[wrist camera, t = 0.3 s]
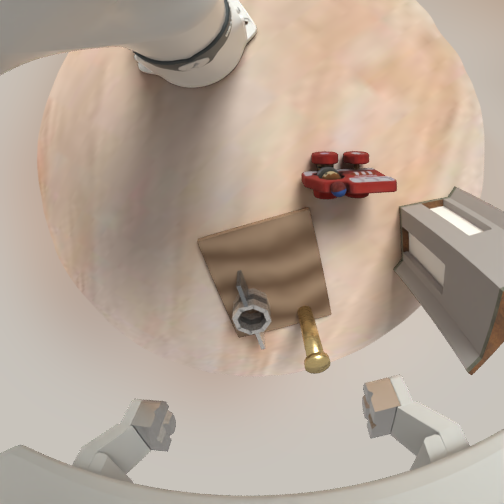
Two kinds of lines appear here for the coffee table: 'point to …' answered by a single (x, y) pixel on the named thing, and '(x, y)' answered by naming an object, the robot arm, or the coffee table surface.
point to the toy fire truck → (345, 177)
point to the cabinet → (457, 270)
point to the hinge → (248, 301)
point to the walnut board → (270, 266)
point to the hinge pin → (312, 342)
